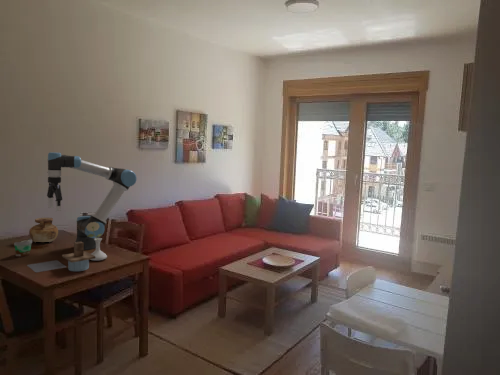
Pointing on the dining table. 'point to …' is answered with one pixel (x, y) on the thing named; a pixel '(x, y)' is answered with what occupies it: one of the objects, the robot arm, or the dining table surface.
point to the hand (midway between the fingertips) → (54, 209)
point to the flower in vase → (97, 253)
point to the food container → (23, 248)
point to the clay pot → (43, 230)
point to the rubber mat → (46, 266)
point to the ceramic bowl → (78, 265)
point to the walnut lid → (78, 253)
